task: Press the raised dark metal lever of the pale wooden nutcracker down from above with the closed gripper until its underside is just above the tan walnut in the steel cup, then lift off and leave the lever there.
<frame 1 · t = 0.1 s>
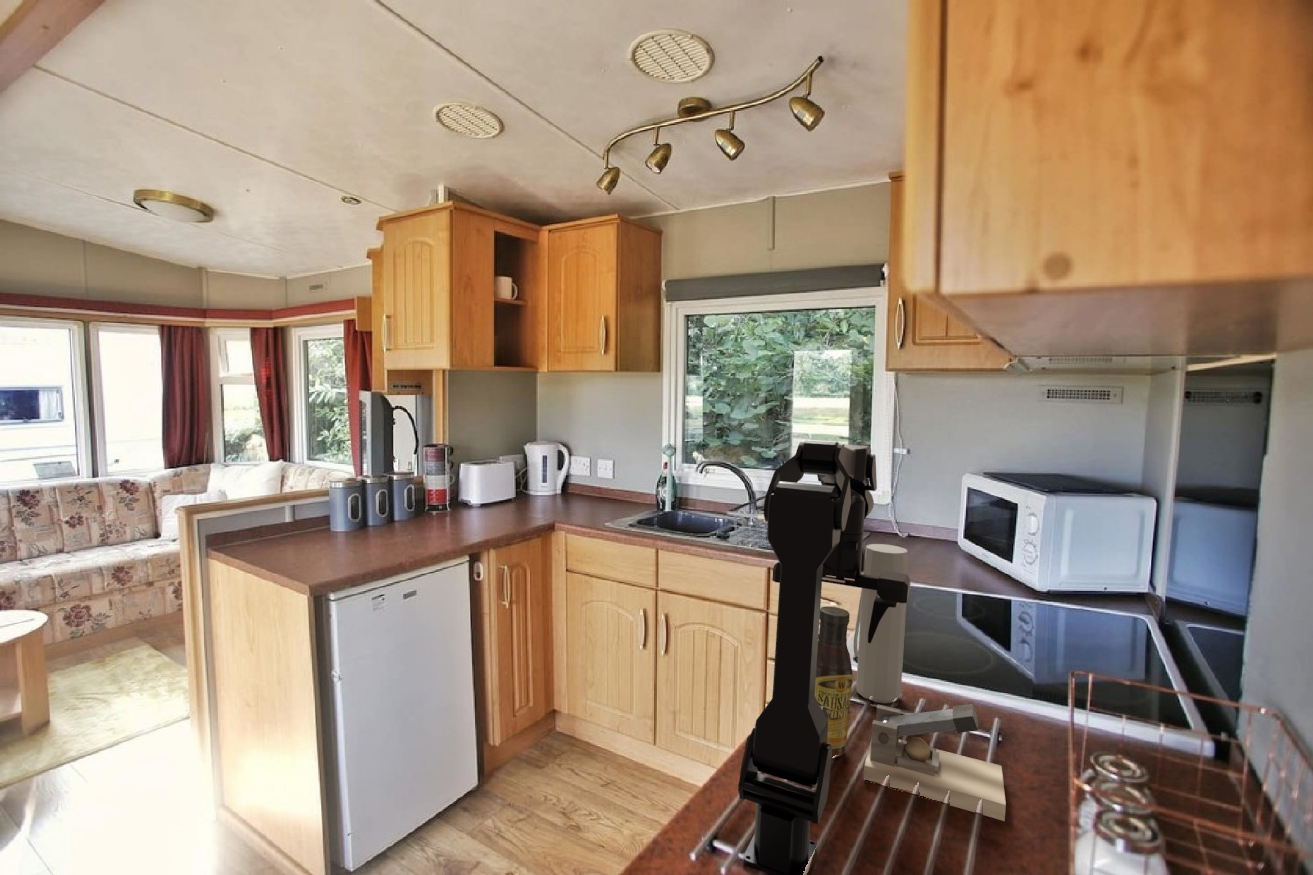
hand: (836, 635, 91), 15 cm above the countertop, tool pointing down, fingers open, 9 cm apart
nutcracker lever: (925, 722, 81), point 7 cm above the countertop, hinge at 22.0°
sauce bottle: (824, 750, 87), on the countertop
water bottle: (873, 693, 105), on the countertop
nutcracker base: (932, 780, 81), on the countertop
walnut: (917, 749, 81), point 3 cm above the countertop, touching nutcracker base
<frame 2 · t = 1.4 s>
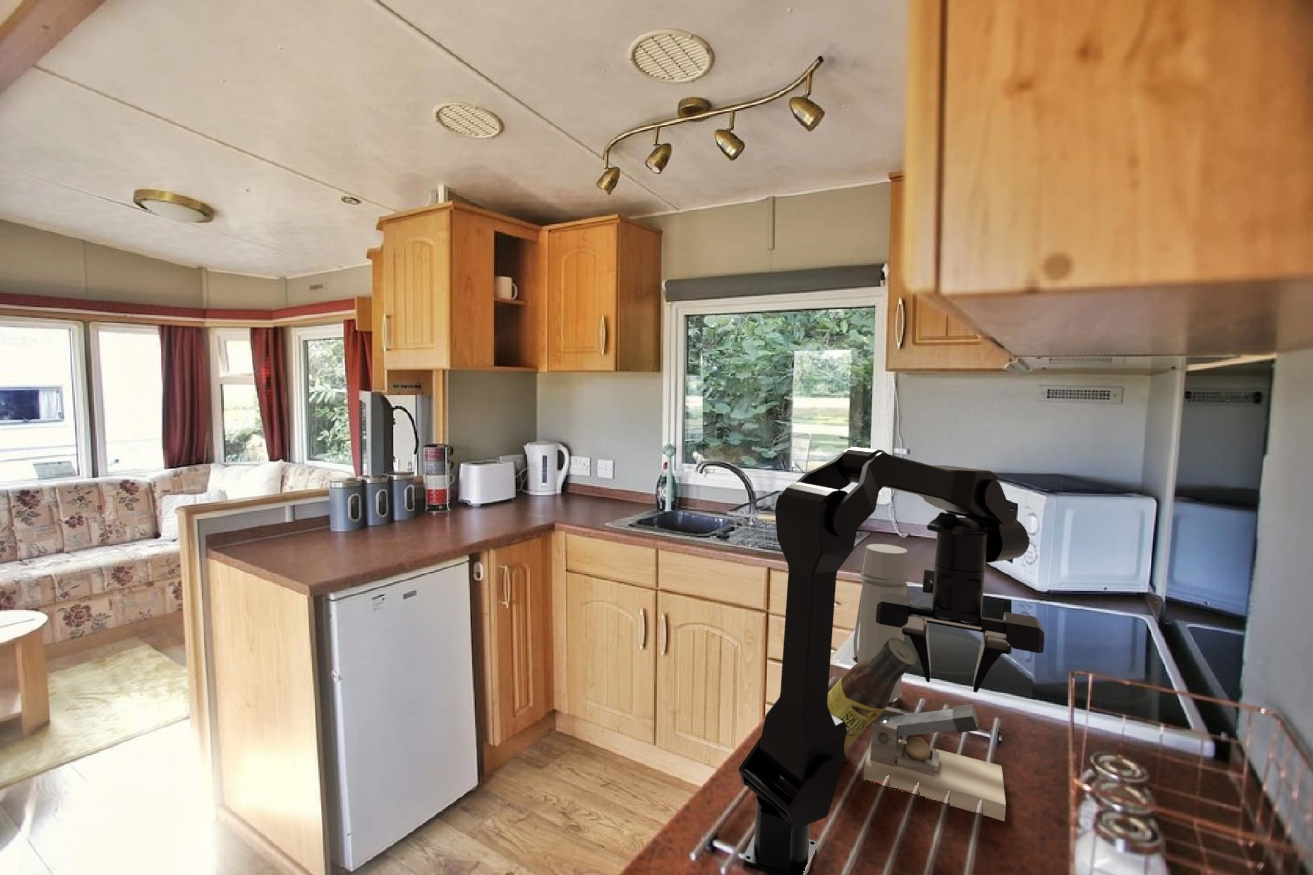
hand: (951, 685, 79), 13 cm above the countertop, tool pointing down, fingers open, 5 cm apart
sauce bottle: (821, 738, 87), point 1 cm above the countertop, touching nutcracker base
everything else where it was.
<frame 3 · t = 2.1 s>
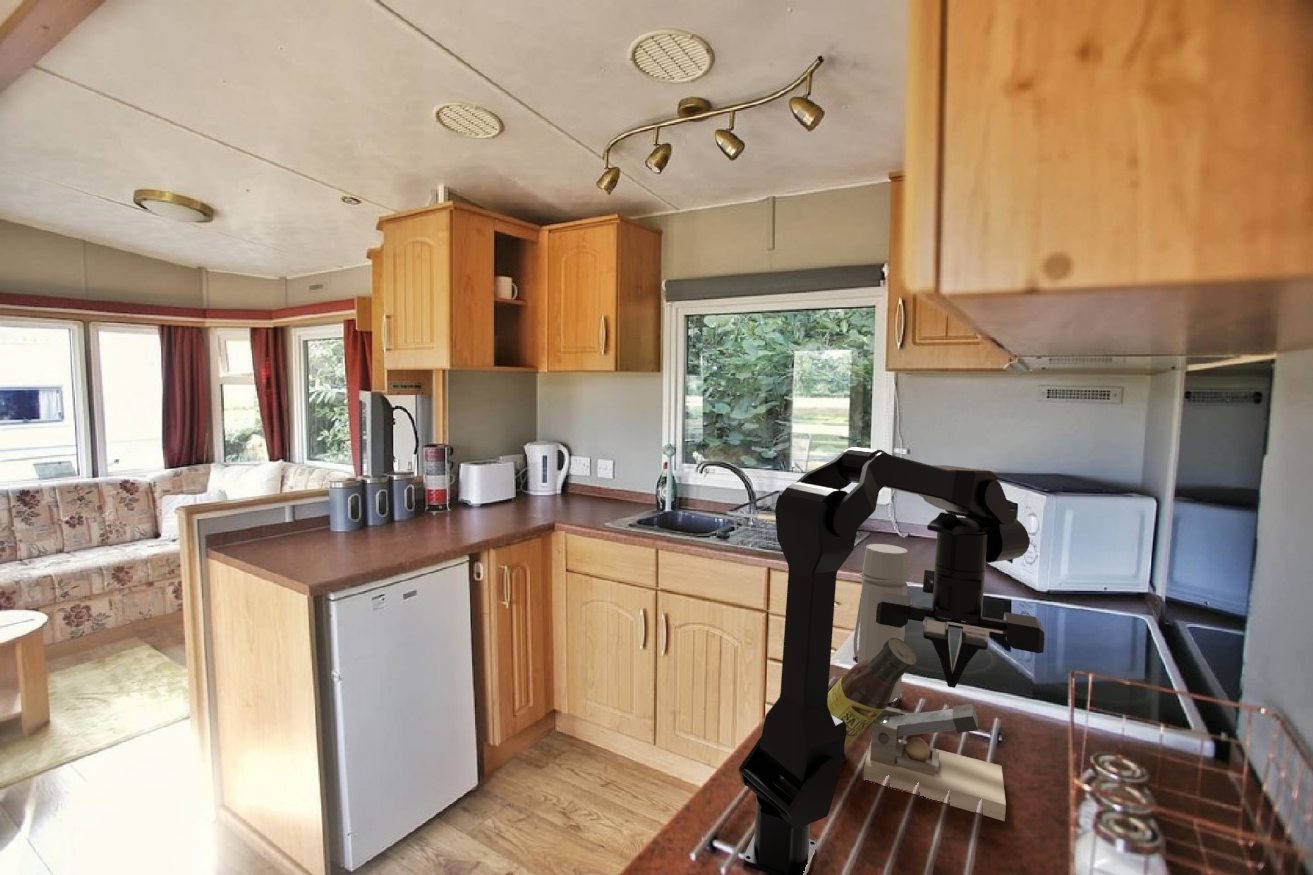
hand: (951, 686, 79), 13 cm above the countertop, tool pointing down, fingers closed
nothing on the countertop moved.
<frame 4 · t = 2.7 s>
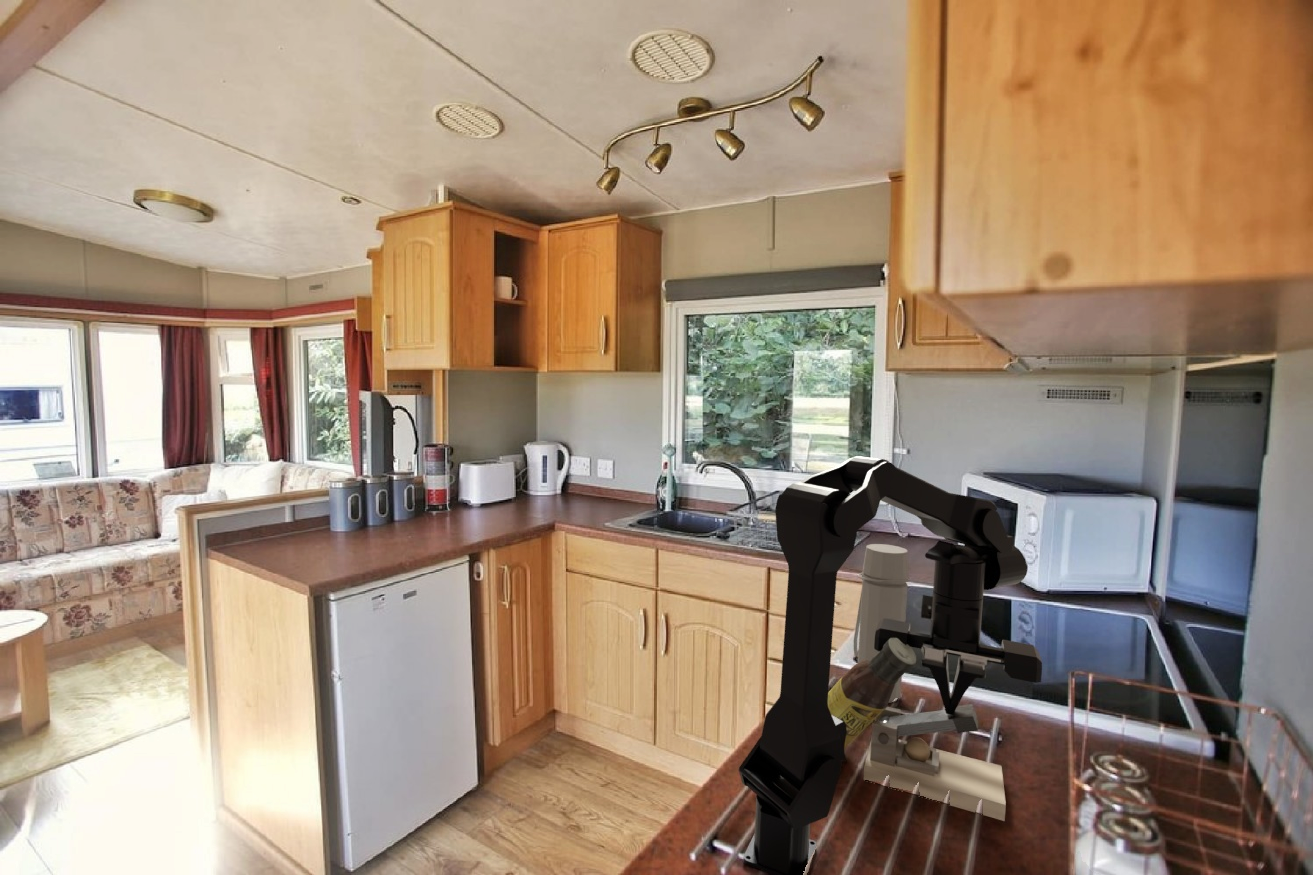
hand: (949, 712, 79), 9 cm above the countertop, tool pointing down, fingers closed
nutcracker lever: (925, 722, 81), point 7 cm above the countertop, hinge at 21.9°, touching gripper
everything else where it was.
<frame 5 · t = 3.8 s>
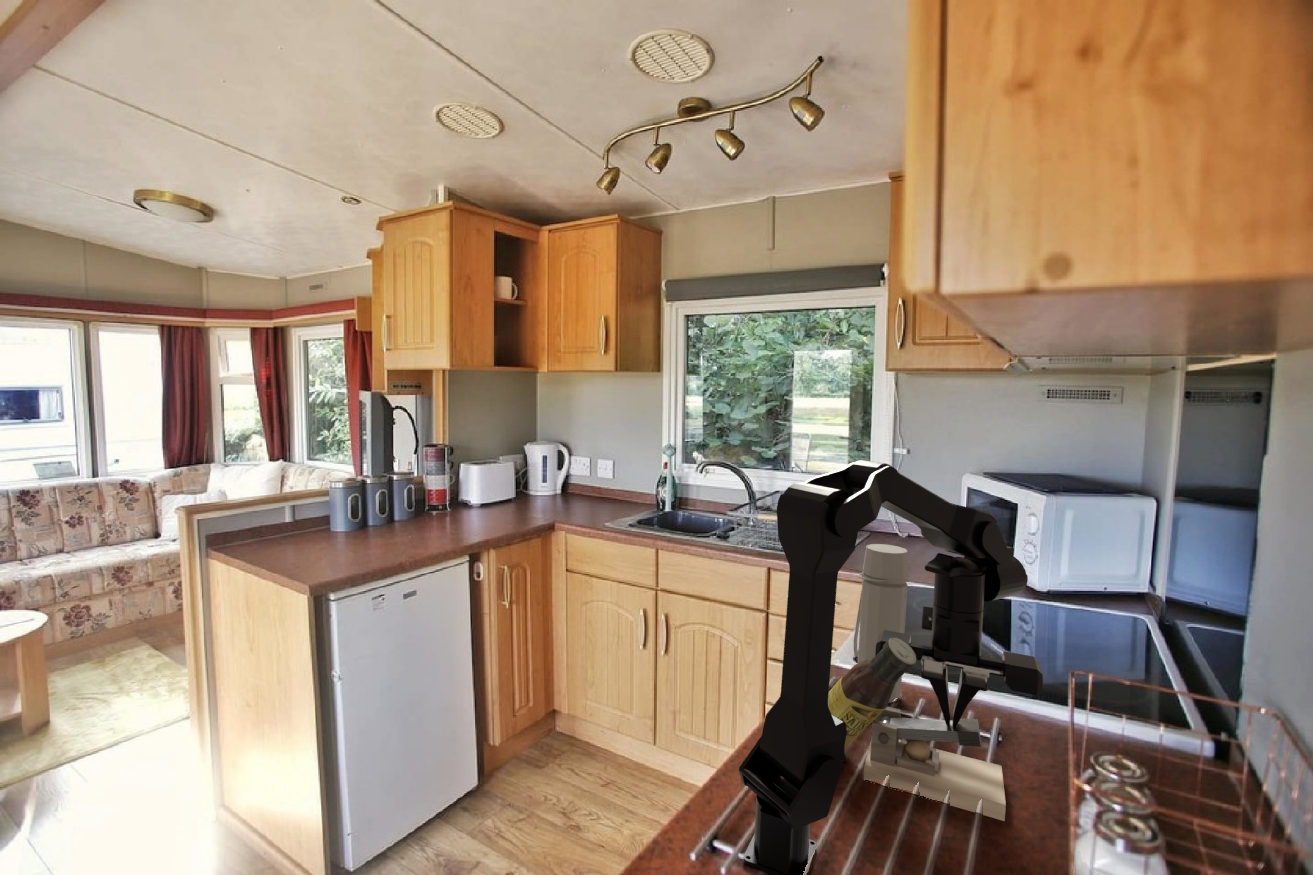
hand: (951, 724, 80), 8 cm above the countertop, tool pointing down, fingers closed
nutcracker lever: (927, 729, 81), point 7 cm above the countertop, hinge at 11.8°, touching gripper
everything else where it was.
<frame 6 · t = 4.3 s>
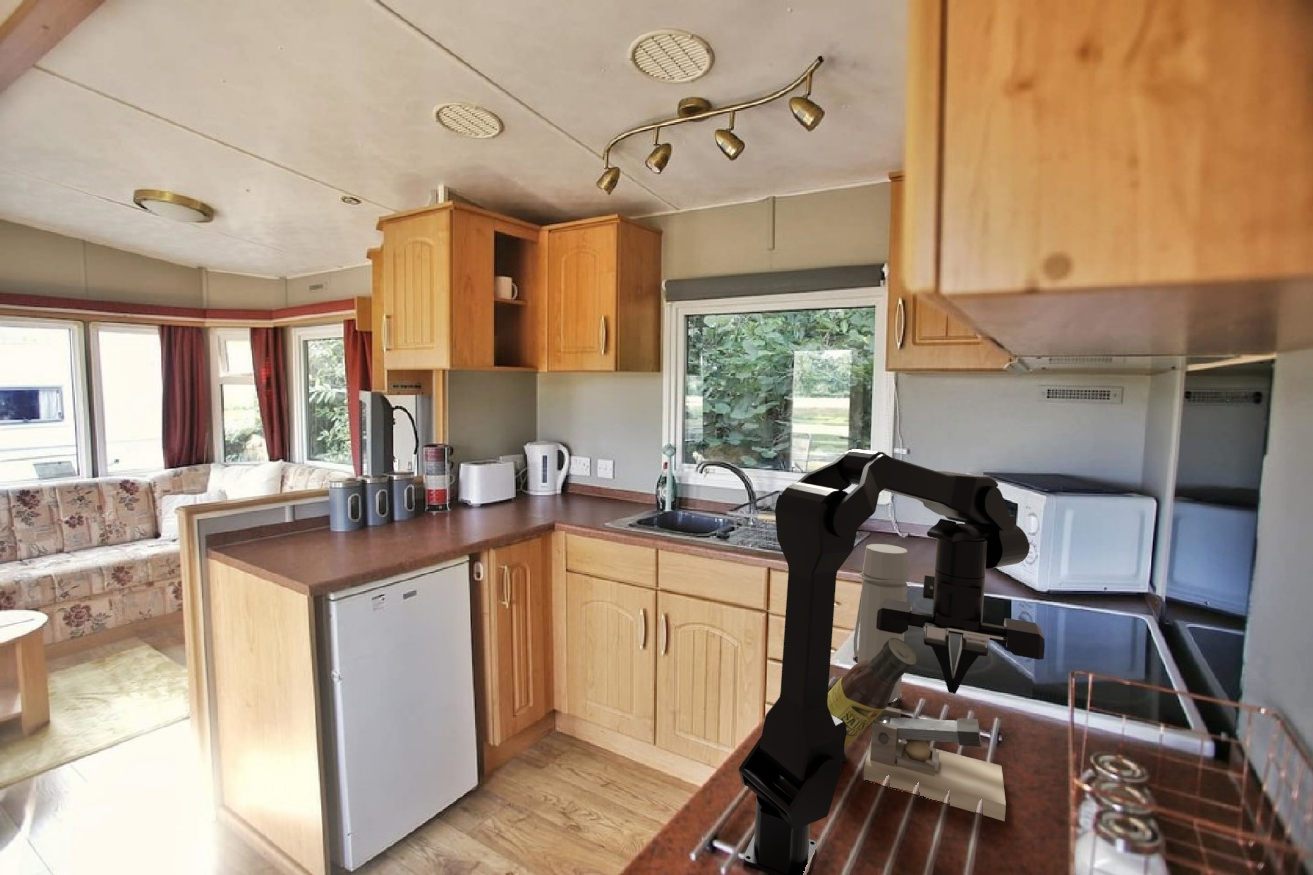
hand: (952, 691, 79), 12 cm above the countertop, tool pointing down, fingers closed
nutcracker lever: (927, 729, 81), point 7 cm above the countertop, hinge at 11.8°
everything else where it was.
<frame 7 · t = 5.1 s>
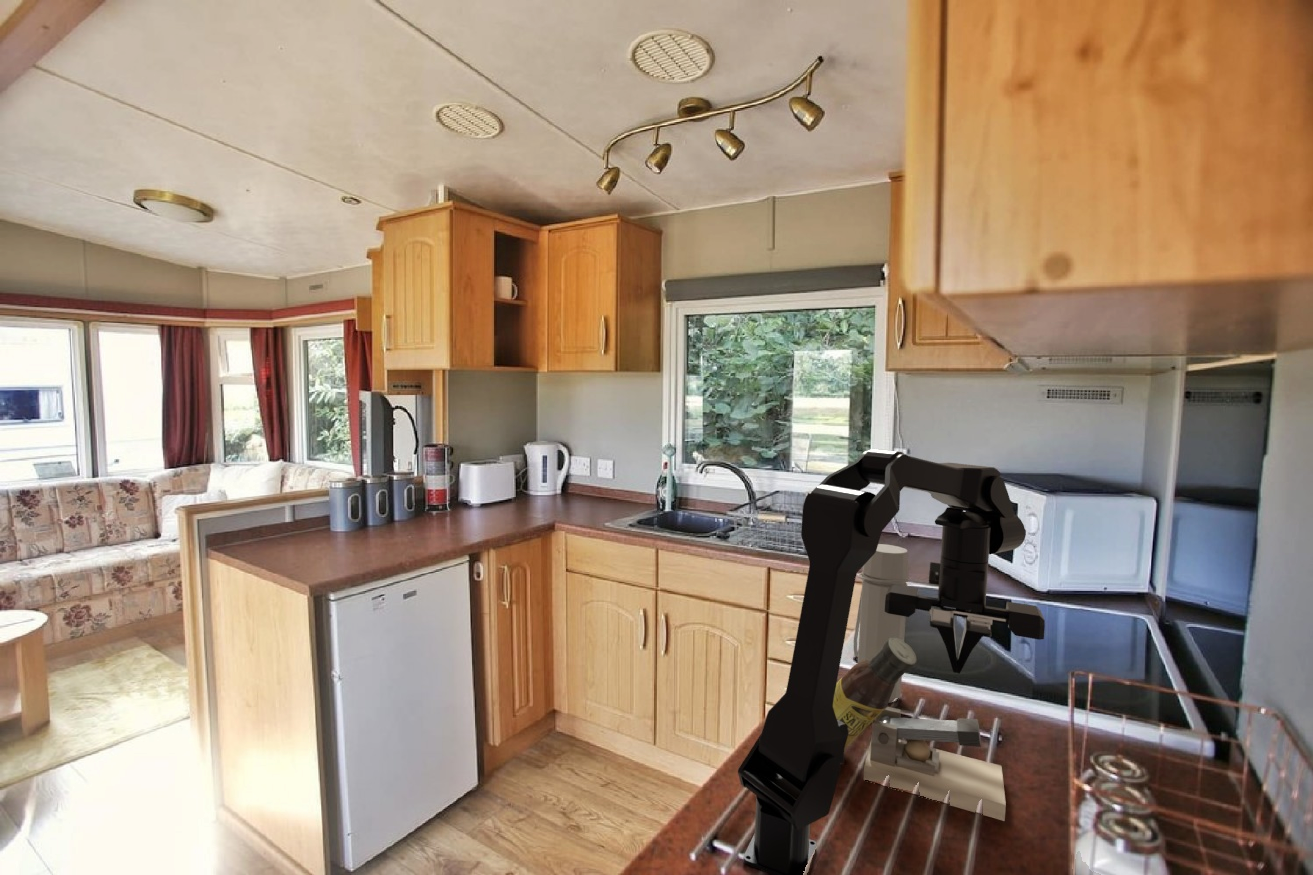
hand: (956, 672, 84), 13 cm above the countertop, tool pointing down, fingers closed
nothing on the countertop moved.
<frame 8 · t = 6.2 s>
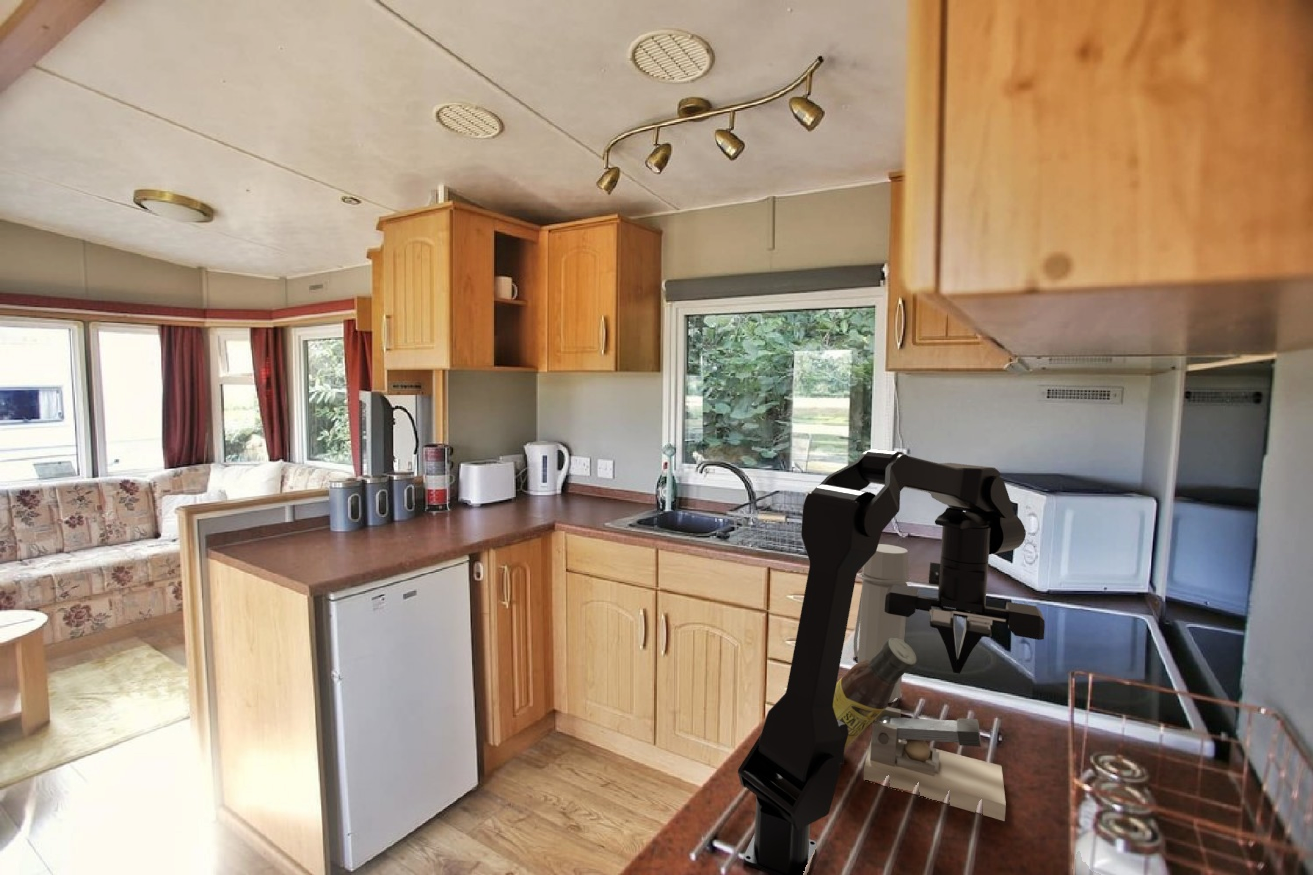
hand: (956, 672, 84), 13 cm above the countertop, tool pointing down, fingers closed
nothing on the countertop moved.
at the end: nutcracker lever at +12° (first picture: +22°); walnut 0.0 cm from the target spot, point 3.5 cm above the countertop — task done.
